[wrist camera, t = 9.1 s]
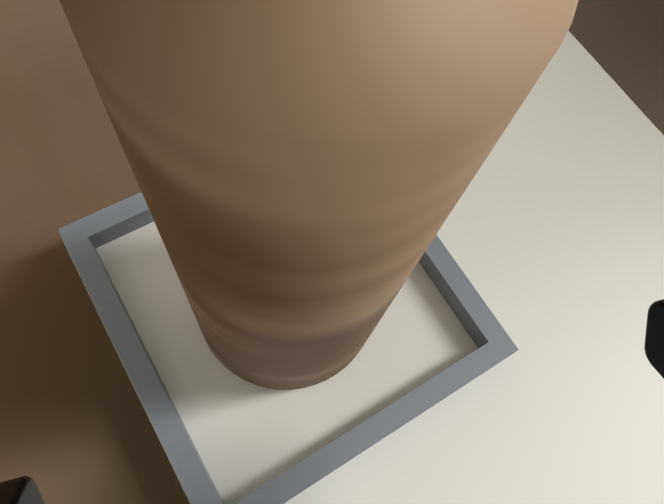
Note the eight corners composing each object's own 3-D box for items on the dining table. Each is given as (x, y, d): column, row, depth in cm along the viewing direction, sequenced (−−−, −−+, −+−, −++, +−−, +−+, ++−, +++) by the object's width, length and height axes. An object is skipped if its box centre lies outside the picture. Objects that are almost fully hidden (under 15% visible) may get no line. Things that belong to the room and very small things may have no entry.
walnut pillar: (407, 295, 17) (671, -71, 6) (293, 429, 15) (358, 270, 4) (281, 190, 18) (301, -300, 7) (159, 306, 16) (-85, -100, 5)
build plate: (919, 451, 17) (979, 447, 16) (408, 943, 12) (427, 1005, 11) (547, 33, 22) (567, 1, 21) (72, 253, 17) (54, 230, 16)
